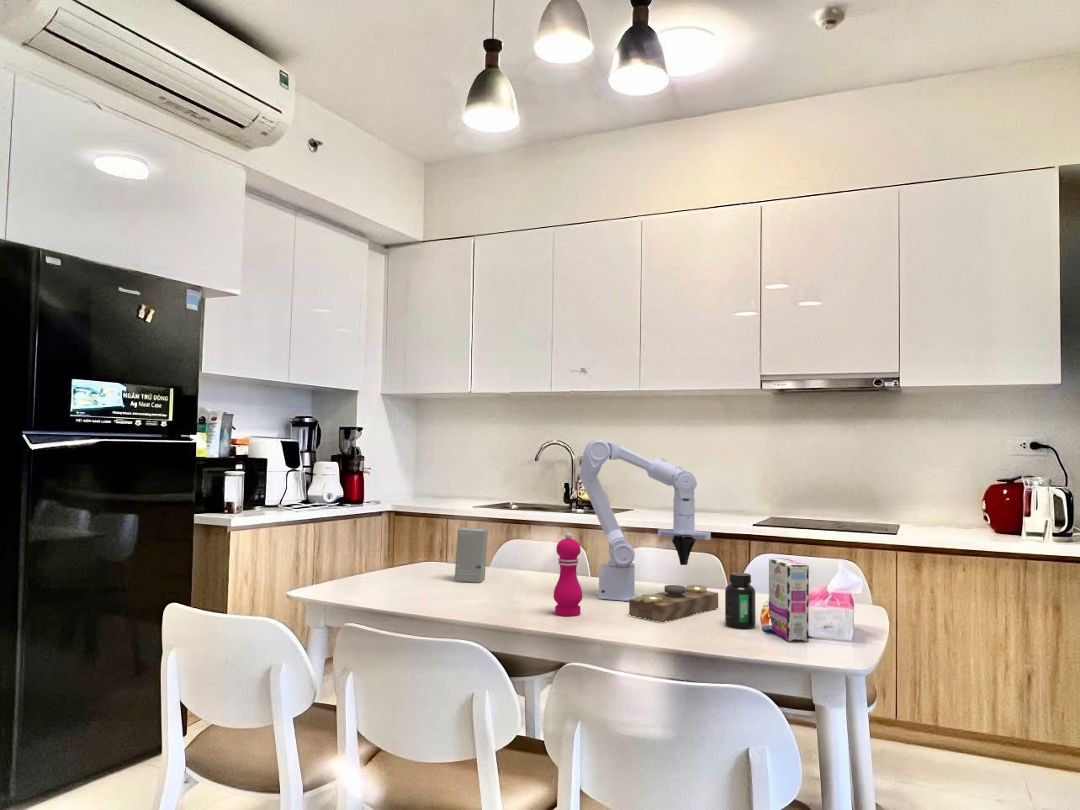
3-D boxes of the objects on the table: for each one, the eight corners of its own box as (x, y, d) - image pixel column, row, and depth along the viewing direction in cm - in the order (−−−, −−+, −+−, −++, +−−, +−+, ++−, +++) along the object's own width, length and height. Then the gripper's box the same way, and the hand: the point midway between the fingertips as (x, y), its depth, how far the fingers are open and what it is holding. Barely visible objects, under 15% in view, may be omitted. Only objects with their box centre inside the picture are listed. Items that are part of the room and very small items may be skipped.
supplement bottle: (750, 630, 171) (750, 577, 172) (721, 626, 175) (721, 574, 175) (759, 625, 177) (758, 573, 177) (730, 621, 180) (730, 570, 181)
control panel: (662, 623, 177) (662, 605, 178) (629, 615, 185) (629, 599, 185) (718, 608, 194) (718, 592, 194) (685, 602, 201) (685, 587, 201)
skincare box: (454, 582, 227) (455, 529, 228) (460, 578, 234) (461, 526, 235) (481, 583, 225) (482, 530, 226) (487, 579, 232) (488, 527, 233)
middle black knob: (677, 609, 186) (677, 589, 186) (660, 605, 189) (660, 586, 190) (689, 606, 189) (689, 587, 190) (672, 603, 193) (672, 584, 193)
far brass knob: (699, 608, 192) (699, 589, 193) (682, 605, 196) (682, 586, 196) (710, 605, 196) (710, 586, 196) (693, 602, 200) (693, 584, 200)
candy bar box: (810, 642, 162) (810, 565, 162) (787, 642, 161) (787, 565, 162) (788, 629, 173) (788, 557, 174) (767, 629, 172) (767, 557, 173)
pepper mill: (585, 611, 188) (586, 531, 189) (577, 618, 182) (578, 534, 183) (558, 609, 191) (559, 530, 192) (549, 615, 184) (550, 533, 185)
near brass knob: (653, 619, 179) (653, 599, 179) (636, 615, 183) (636, 595, 183) (666, 616, 183) (667, 596, 183) (649, 612, 186) (649, 593, 187)
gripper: (653, 514, 207) (653, 563, 206) (704, 517, 200) (704, 568, 199) (663, 512, 213) (663, 560, 212) (713, 515, 206) (713, 565, 205)
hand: (683, 564), depth 206 cm, fingers closed
